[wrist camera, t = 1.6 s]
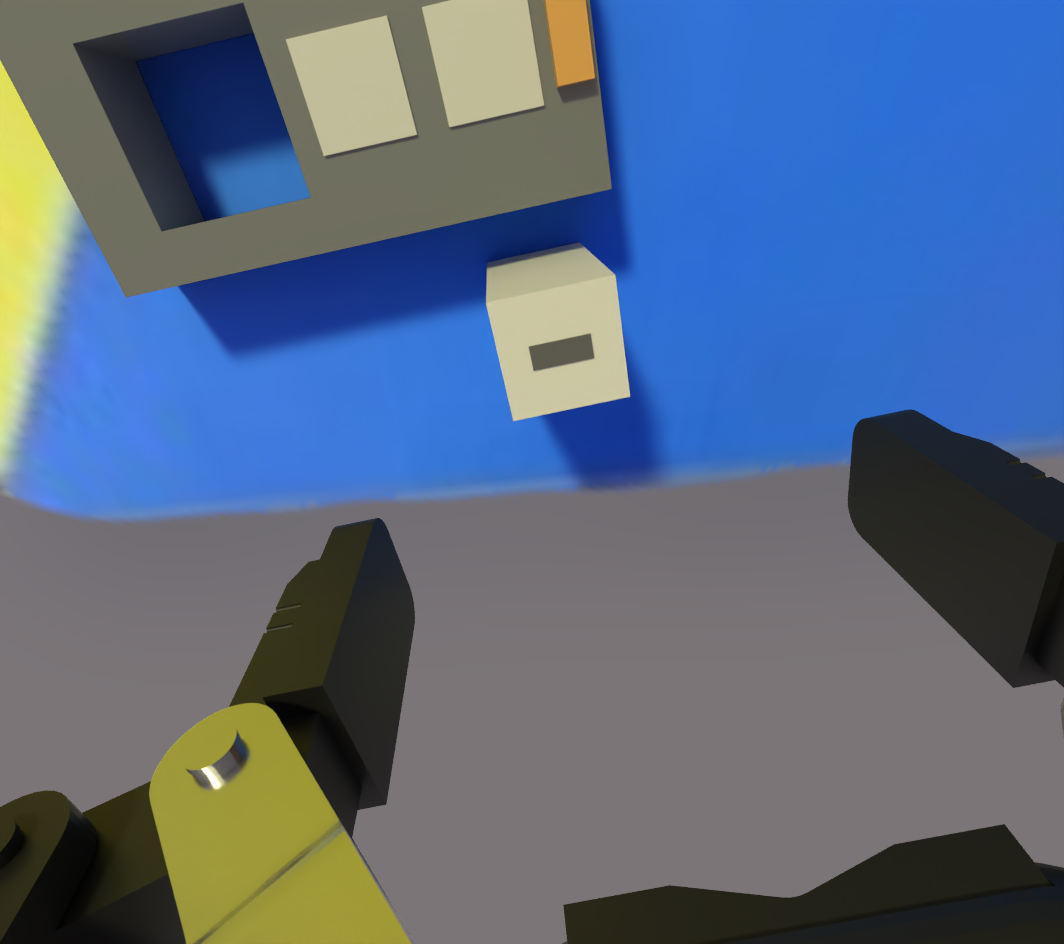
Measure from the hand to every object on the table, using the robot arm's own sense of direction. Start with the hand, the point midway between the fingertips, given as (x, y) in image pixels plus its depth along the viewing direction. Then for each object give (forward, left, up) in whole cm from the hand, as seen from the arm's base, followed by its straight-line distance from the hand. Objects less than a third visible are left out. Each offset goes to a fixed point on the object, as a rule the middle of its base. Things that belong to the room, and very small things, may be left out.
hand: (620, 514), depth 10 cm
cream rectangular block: (0, 0, -18) cm, 18 cm away
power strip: (+6, -9, -18) cm, 20 cm away
